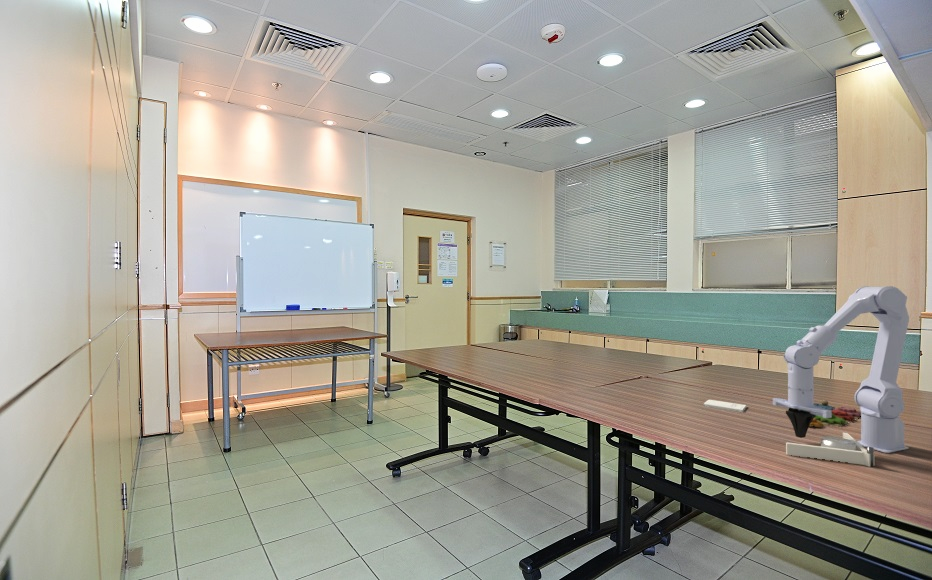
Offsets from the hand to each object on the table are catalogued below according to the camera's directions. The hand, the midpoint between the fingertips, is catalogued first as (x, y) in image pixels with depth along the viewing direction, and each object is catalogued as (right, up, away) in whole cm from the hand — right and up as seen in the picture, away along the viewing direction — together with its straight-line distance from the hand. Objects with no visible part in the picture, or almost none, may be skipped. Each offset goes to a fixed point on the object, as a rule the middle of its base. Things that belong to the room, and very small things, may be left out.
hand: (800, 436), depth 125 cm
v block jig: (+4, -2, -11) cm, 11 cm away
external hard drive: (+1, -3, +39) cm, 39 cm away
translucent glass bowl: (+3, -2, -9) cm, 10 cm away
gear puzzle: (+24, -2, +24) cm, 34 cm away
